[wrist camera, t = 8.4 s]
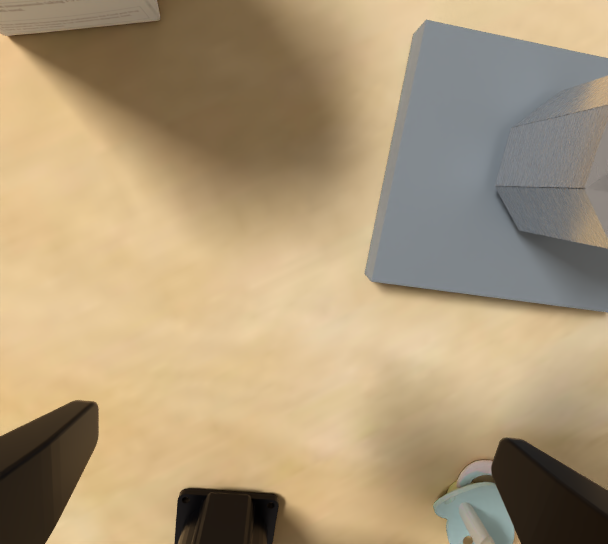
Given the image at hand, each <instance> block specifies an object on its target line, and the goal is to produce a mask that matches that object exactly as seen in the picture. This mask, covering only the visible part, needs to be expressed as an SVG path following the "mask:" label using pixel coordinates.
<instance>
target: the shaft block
mask: <svg viewBox="0 0 608 544" xmlns="http://www.w3.org/2000/svg"><path fill="white" fill-rule="evenodd" d="M605 76H608V58H604V57H599V56H594V55H590V54H585V53H580V52H575V51H571V50H566V49H561V48H557V47H552V46H547V45H542V44H538V43H533V42H528V41H524V40H519V39H514V38H510V37H505V36H500V35H495V34H491V33H486V32H481V31H477V30H472V29H467V28H463V27H458V26H453V25H448V24H444V23H439V22H434V21H430V20H426V21H425V22H424V23H423V24H422V25H421V26H420V27H419V28H418V30H417V31H416V32H415V33H414V34H413V38H412V43H411V48H410V53H409V58H408V63H407V68H406V73H405V78H404V83H403V88H402V92H401V97H400V102H399V107H398V112H397V117H396V122H395V127H394V132H393V137H392V142H391V147H390V151H389V156H388V161H387V166H386V171H385V176H384V181H383V186H382V191H381V196H380V201H379V205H378V210H377V215H376V220H375V225H374V230H373V235H372V240H371V245H370V250H369V255H368V260H367V264H366V269H365V275H366V276H367V277H368V278H369V279H370V281H372V282H379V283H387V284H395V285H402V286H410V287H417V288H425V289H433V290H440V291H448V292H456V293H463V294H471V295H479V296H486V297H494V298H502V299H509V300H517V301H524V302H532V303H540V304H547V305H555V306H563V307H570V308H578V309H586V310H593V311H601V312H608V249H606V248H601V247H596V246H591V245H587V244H582V243H577V242H572V241H568V240H563V239H558V238H553V237H548V236H544V235H539V234H534V233H529V232H525V231H520V230H518V228H517V226H516V224H515V222H514V221H513V219H512V217H511V215H510V213H509V212H508V210H507V208H506V206H505V204H504V203H503V201H502V199H501V197H500V195H499V194H498V192H497V190H496V188H495V183H496V179H497V176H498V172H499V169H500V165H501V161H502V158H503V154H504V151H505V147H506V144H507V140H508V136H509V133H510V129H511V128H512V126H514V125H515V124H516V123H518V122H519V121H521V120H522V119H523V118H525V117H526V116H527V115H529V114H530V113H531V112H533V111H534V110H536V109H537V108H538V107H540V106H541V105H542V104H544V103H545V102H546V101H548V100H549V99H551V98H552V97H553V96H555V95H556V94H557V93H559V92H560V91H562V90H565V89H568V88H571V87H574V86H577V85H580V84H583V83H586V82H590V81H593V80H596V79H599V78H602V77H605Z"/></svg>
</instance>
